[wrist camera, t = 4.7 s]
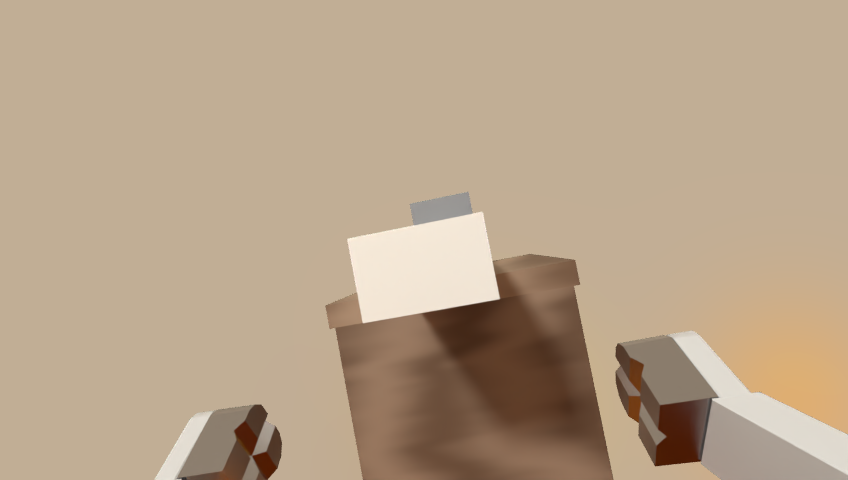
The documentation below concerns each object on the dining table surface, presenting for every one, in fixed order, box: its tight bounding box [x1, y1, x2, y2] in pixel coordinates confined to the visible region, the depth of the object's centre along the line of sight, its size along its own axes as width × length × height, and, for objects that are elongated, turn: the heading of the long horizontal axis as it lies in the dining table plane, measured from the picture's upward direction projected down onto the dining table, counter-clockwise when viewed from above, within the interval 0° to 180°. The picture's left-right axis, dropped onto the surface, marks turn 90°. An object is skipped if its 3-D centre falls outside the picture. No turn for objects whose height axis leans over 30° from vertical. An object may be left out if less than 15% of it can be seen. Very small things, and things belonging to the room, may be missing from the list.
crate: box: [326, 254, 613, 480], centre depth 26 cm, size 13×14×26 cm
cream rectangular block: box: [347, 192, 500, 323], centre depth 22 cm, size 4×22×6 cm, turn 173°
